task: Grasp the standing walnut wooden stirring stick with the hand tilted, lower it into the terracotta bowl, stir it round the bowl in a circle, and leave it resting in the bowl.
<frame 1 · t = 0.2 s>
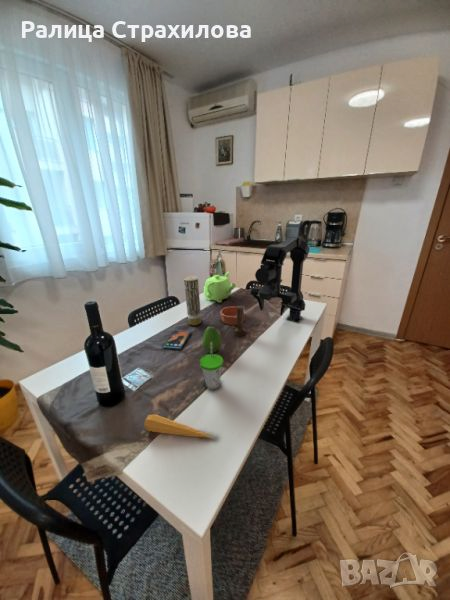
hand: (271, 312, 102), 14 cm above the table, tool pointing down, fingers open, 9 cm apart
carrot: (179, 434, 66), on the table
stirring stick: (240, 333, 115), on the table
bowl: (233, 319, 128), on the table
wooden log: (194, 323, 126), on the table
smartphone: (178, 340, 111), on the table
avocado: (212, 351, 102), on the table
cup: (212, 385, 83), on the table
teapot: (222, 298, 157), on the table
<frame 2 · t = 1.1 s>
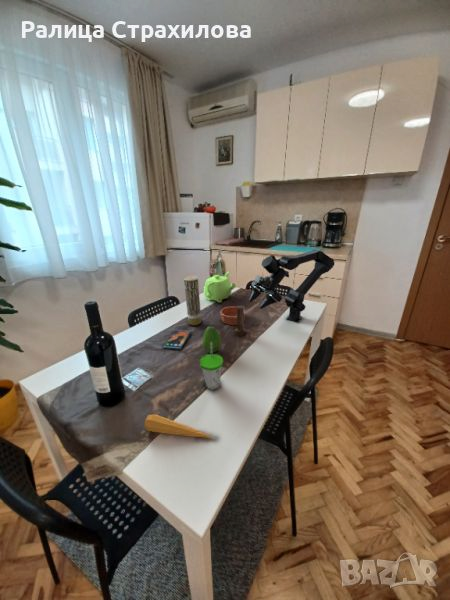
hand: (254, 305, 113), 13 cm above the table, tool tilted 45°, fingers open, 9 cm apart
nothing on the table moved.
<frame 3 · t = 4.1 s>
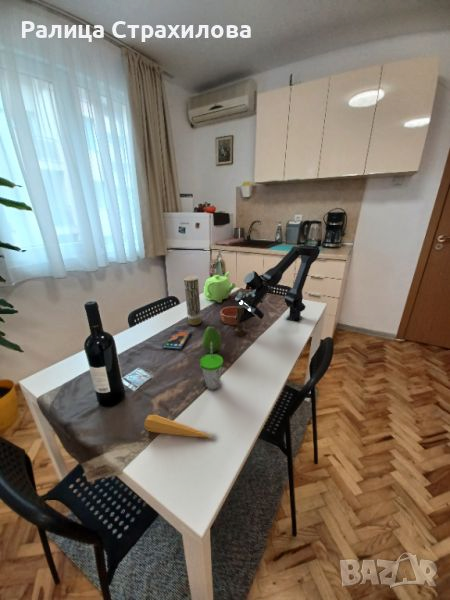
hand: (237, 320, 112), 7 cm above the table, tool tilted 45°, fingers closed on stirring stick, 3 cm apart
stirring stick: (240, 333, 115), on the table, touching gripper
everything else where it was.
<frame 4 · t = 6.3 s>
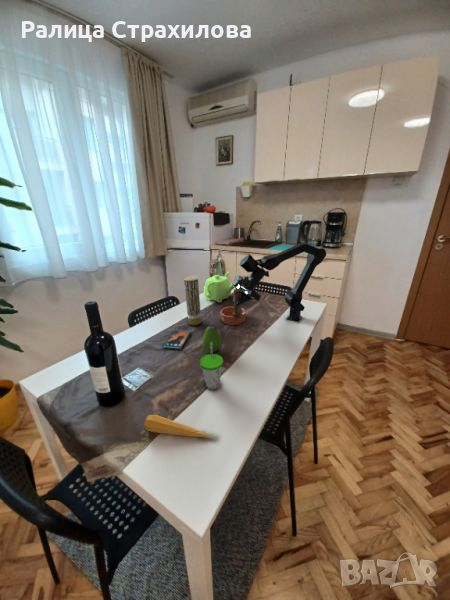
hand: (234, 304, 114), 13 cm above the table, tool tilted 45°, fingers closed on stirring stick, 3 cm apart
stirring stick: (237, 316, 117), point 6 cm above the table, touching gripper
everything else where it was.
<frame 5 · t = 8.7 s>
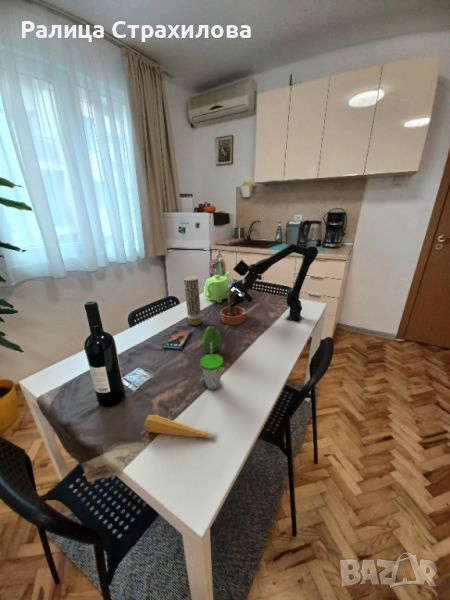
hand: (229, 305, 124), 9 cm above the table, tool tilted 45°, fingers closed on stirring stick, 3 cm apart
stirring stick: (232, 316, 127), point 2 cm above the table, touching gripper
everything else where it was.
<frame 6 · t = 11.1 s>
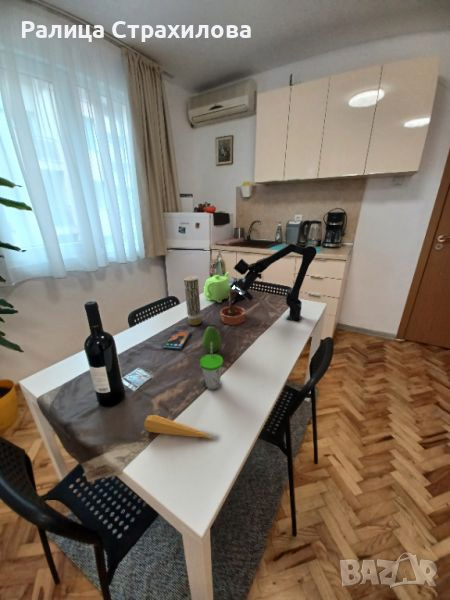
hand: (230, 303, 126), 9 cm above the table, tool tilted 45°, fingers closed on stirring stick, 3 cm apart
stirring stick: (232, 314, 129), point 2 cm above the table, touching gripper
everything else where it was.
when the fingers open (8 cm above the table, at t = 12.9 s): stirring stick stays where it is, resting on bowl.
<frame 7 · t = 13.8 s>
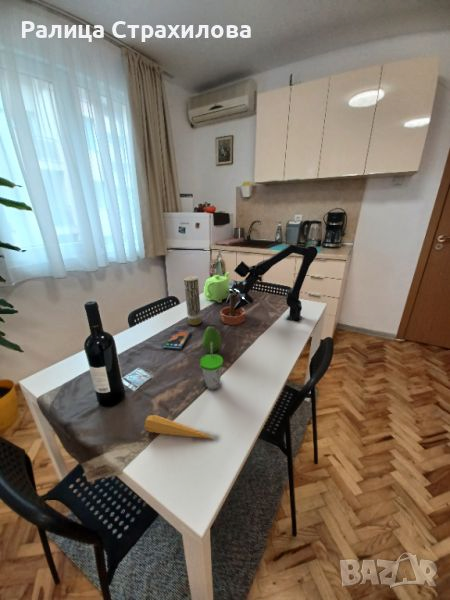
hand: (230, 306, 125), 8 cm above the table, tool tilted 45°, fingers open, 9 cm apart
stirring stick: (233, 318, 128), point 1 cm above the table, touching bowl
everything else where it was.
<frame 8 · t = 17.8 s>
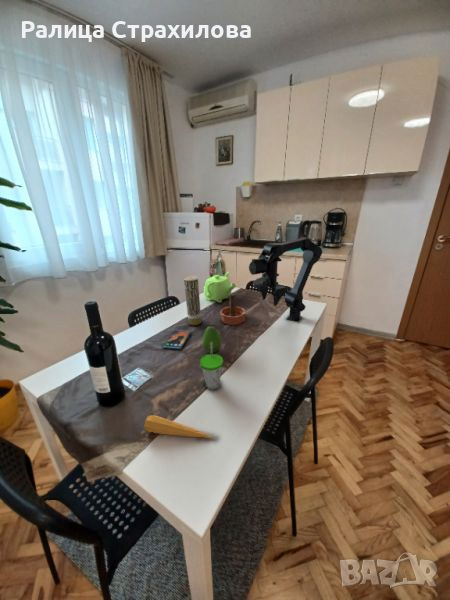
hand: (269, 302, 116), 13 cm above the table, tool pointing down, fingers open, 9 cm apart
nothing on the table moved.
at the end: stirring stick inside the target area in the bowl (0.1 cm from its centre), point 0.8 cm above the bowl's base; the gripper is holding nothing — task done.
